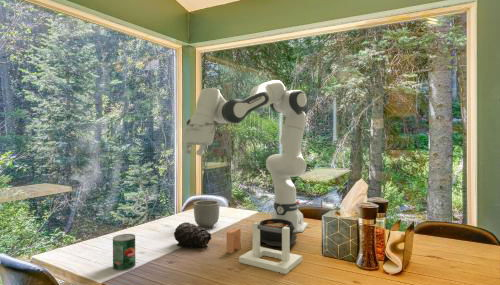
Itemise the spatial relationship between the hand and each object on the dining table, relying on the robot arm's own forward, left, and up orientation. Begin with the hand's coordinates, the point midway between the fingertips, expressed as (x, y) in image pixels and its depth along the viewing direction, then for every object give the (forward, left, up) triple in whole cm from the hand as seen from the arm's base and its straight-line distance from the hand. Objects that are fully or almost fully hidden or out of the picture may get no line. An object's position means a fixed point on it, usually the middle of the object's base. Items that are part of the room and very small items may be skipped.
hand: (192, 154), depth 131 cm
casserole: (-30, +23, -41) cm, 56 cm away
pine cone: (-6, -5, -41) cm, 42 cm away
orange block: (-10, +13, -41) cm, 44 cm away
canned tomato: (+25, -12, -41) cm, 49 cm away
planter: (-31, -20, -41) cm, 55 cm away
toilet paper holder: (-8, +32, -41) cm, 53 cm away
